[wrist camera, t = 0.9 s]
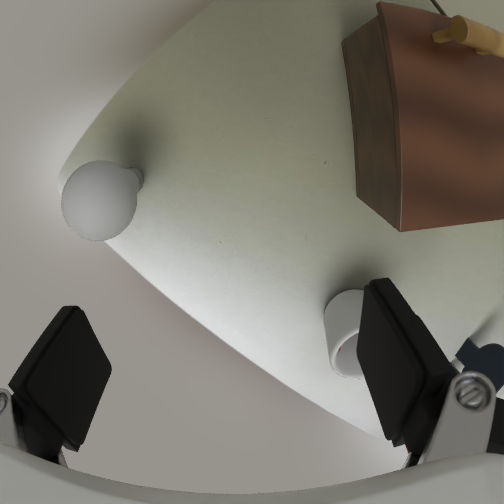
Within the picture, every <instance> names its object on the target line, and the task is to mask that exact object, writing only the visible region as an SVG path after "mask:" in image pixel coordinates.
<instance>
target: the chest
mask: <svg viewBox="0 0 504 504" xmlns="http://www.w3.org/2000/svg"><path fill="white" fill-rule="evenodd" d="M342 48H343V54H344V60H345V67H346V73H347V80H348V88H349V96H350V105H351V114H352V125H353V136H354V150H355V167H356V192H357V197H358V198H360V199H361V200H362V201H363V202H364V203H366V204H367V205H368V206H369V207H370V208H372V209H373V210H374V211H375V212H376V213H378V214H379V215H380V216H381V217H382V218H384V219H385V220H386V221H387V222H388V223H390V224H391V225H392V226H393V227H394V228H395V224H396V192H397V171H396V140H395V123H394V111H393V100H392V91H391V83H390V75H389V68H388V62H387V56H386V50H385V44H384V39H383V34H382V29H381V24H380V20H379V15H378V16H376V17H375V18H373V19H372V20H370V21H369V22H368V23H366V24H365V25H363V26H362V27H361V28H359V29H358V30H356V31H355V32H354V33H352V34H351V35H350V36H348V37H347V38H346V39H344V40H343V41H342Z"/></svg>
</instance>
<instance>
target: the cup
mask: <svg viewBox="0 0 504 504" xmlns="http://www.w3.org/2000/svg"><path fill="white" fill-rule="evenodd" d="M363 295H364V291H363V290H358V289H352V290H347V291H344V292H342V293H340V294H338V295H336V296H335V297H334V298H333V299H332V300H331V301H330V302H329V304H328V305H327V307H326V309H325V313H324V327H325V333H326V340H327V346H328V353H329V360H330V364H331V367H332V369H333V370H334V371H335V372H336V373H337V374H338V375H340V376H343V377H346V378H357V379H364V378H365V377H364V375H363V372H362V369H361V366H360V364H359V361H358V358H357V353H356V347H357V341H358V334H359V327H360V320H361V312H362V304H363Z"/></svg>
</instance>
